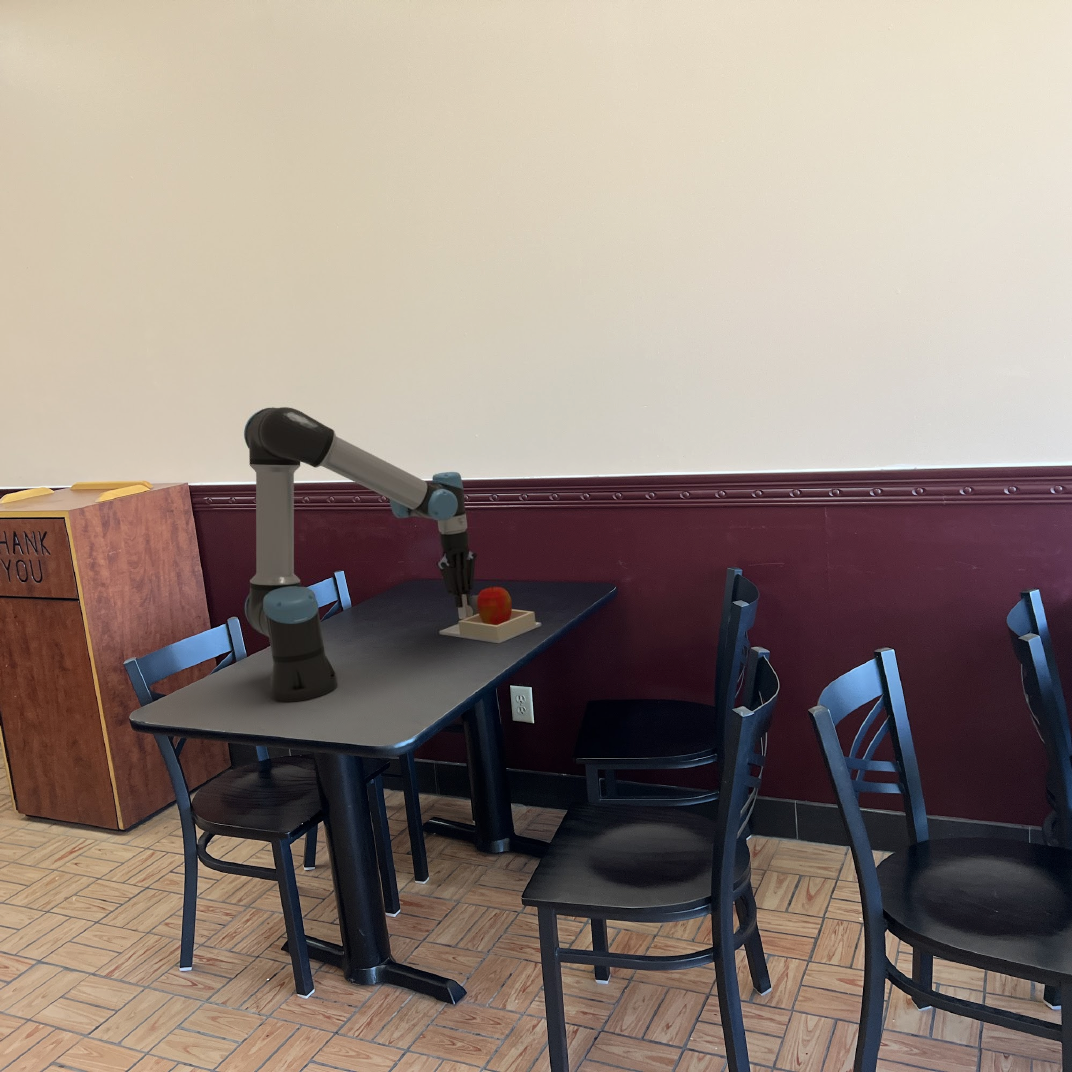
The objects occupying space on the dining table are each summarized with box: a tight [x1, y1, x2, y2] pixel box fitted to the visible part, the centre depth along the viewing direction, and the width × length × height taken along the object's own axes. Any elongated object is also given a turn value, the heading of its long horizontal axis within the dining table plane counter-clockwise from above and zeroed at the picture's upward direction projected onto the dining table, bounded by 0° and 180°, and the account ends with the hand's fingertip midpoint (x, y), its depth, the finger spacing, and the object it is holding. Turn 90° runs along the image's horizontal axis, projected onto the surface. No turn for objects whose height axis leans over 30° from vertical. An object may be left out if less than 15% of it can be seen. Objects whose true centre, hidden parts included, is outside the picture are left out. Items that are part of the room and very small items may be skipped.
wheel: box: [467, 594, 479, 617], centre depth 263 cm, size 8×7×7 cm
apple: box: [477, 584, 513, 625], centre depth 252 cm, size 9×9×12 cm
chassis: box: [438, 594, 542, 644], centre depth 256 cm, size 16×22×7 cm
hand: (464, 618), depth 259 cm, fingers closed
